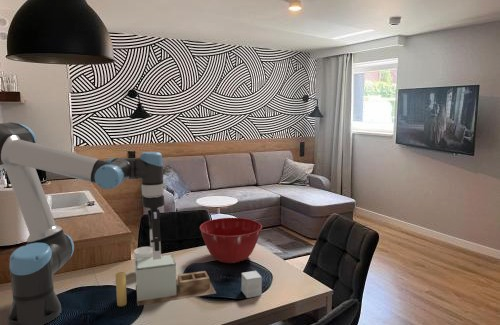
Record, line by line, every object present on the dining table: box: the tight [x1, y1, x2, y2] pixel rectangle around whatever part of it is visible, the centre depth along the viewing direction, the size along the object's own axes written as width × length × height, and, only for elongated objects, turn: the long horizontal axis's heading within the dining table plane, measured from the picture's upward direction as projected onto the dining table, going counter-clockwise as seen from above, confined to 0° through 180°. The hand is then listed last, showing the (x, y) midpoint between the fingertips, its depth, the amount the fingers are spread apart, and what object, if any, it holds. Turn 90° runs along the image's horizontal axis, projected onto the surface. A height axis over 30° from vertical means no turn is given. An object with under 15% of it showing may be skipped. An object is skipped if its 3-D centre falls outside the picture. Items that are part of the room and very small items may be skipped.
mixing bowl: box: [199, 217, 263, 264], centre depth 172 cm, size 28×28×15 cm
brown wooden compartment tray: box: [135, 270, 217, 307], centre depth 139 cm, size 28×16×11 cm, turn 109°
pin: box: [115, 271, 128, 307], centre depth 128 cm, size 3×3×12 cm
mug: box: [133, 246, 153, 275], centre depth 155 cm, size 12×8×10 cm
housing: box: [134, 253, 177, 302], centre depth 137 cm, size 14×10×12 cm
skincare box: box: [241, 270, 263, 299], centre depth 139 cm, size 6×6×7 cm
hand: (155, 252), depth 135 cm, fingers open, 13 cm apart
